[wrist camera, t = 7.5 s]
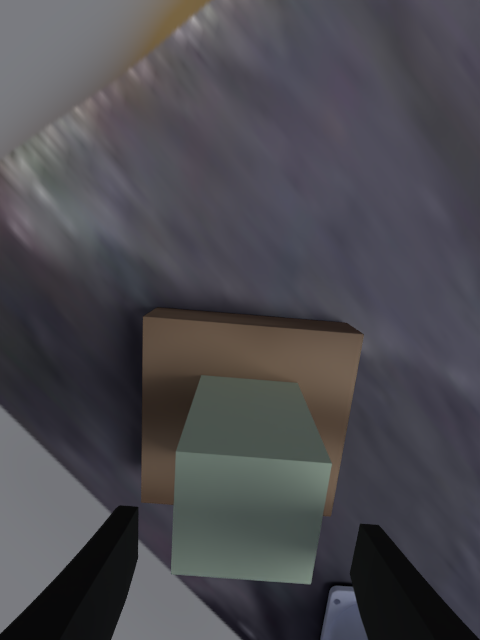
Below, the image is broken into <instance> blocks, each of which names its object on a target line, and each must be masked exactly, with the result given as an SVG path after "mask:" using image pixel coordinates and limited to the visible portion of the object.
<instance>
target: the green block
mask: <svg viewBox="0 0 480 640" xmlns="http://www.w3.org/2000/svg"><path fill="white" fill-rule="evenodd" d="M331 467H332V462H331V460H330V458H329V455H328V453H327V451H326V448H325V446H324V444H323V441H322V439H321V437H320V434H319V432H318V430H317V427H316V425H315V423H314V420H313V418H312V416H311V413H310V411H309V408H308V406H307V404H306V401H305V399H304V397H303V394H302V392H301V390H300V387H299V385H298V383H293V382H280V381H268V380H256V379H243V378H231V377H218V376H206V375H201V378H200V381H199V384H198V387H197V390H196V393H195V396H194V399H193V402H192V405H191V408H190V411H189V414H188V417H187V420H186V423H185V426H184V429H183V432H182V435H181V438H180V441H179V444H178V447H177V450H176V461H175V486H174V511H173V536H172V561H171V574H175V575H189V576H203V577H217V578H230V579H244V580H258V581H272V582H286V583H300V584H311V580H312V574H313V569H314V563H315V557H316V552H317V546H318V540H319V535H320V529H321V523H322V518H323V512H324V506H325V501H326V495H327V489H328V484H329V478H330V472H331Z"/></svg>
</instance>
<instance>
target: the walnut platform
mask: <svg viewBox="0 0 480 640" xmlns="http://www.w3.org/2000/svg"><path fill="white" fill-rule="evenodd" d="M363 337H364V334H362V333H361V332H359V331H358V330H356V329H355V328H354V327H352V326H351V325H349V324H348V323H342V322H330V321H318V320H306V319H293V318H281V317H269V316H257V315H244V314H232V313H220V312H208V311H195V310H183V309H171V308H159V307H157V308H155V309H154V310H152V311H151V312H149V313H148V314H146V315H145V316H143V370H142V483H141V502H143V503H157V504H170V505H174V486H175V461H176V450H177V447H178V444H179V441H180V438H181V435H182V432H183V429H184V426H185V423H186V420H187V417H188V414H189V411H190V408H191V405H192V402H193V399H194V396H195V393H196V390H197V387H198V384H199V381H200V378H201V375H206V376H218V377H231V378H243V379H256V380H268V381H280V382H293V383H298V385H299V387H300V390H301V392H302V394H303V397H304V399H305V401H306V404H307V406H308V408H309V411H310V413H311V416H312V418H313V420H314V423H315V425H316V427H317V430H318V432H319V434H320V437H321V439H322V441H323V444H324V446H325V448H326V451H327V453H328V455H329V458H330V460H331V462H332V467H331V472H330V478H329V484H328V489H327V495H326V501H325V506H324V512H323V516H331V512H332V507H333V501H334V496H335V490H336V485H337V479H338V474H339V468H340V463H341V458H342V452H343V447H344V441H345V436H346V430H347V425H348V419H349V414H350V408H351V403H352V397H353V392H354V386H355V381H356V375H357V370H358V364H359V359H360V353H361V348H362V342H363Z"/></svg>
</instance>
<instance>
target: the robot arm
mask: <svg viewBox="0 0 480 640" xmlns="http://www.w3.org/2000/svg"><path fill="white" fill-rule="evenodd" d="M137 560H138V507H133V506H118V507H117V508H116V509H115V510H114V511H113V513H112V514H111V515H110V516H109V518H108V519H107V520H106V521H105V522H104V524H103V525H102V526H101V527H100V528H99V530H98V531H97V532H96V533H95V534H94V536H93V537H92V538H91V539H90V540H89V541H88V542H87V544H86V545H85V546H84V547H83V548H82V549H81V551H80V552H79V553H78V554H77V555H76V556H75V557H74V559H72V561H71V562H70V563H69V564H68V565H67V566H66V567H65V568H64V570H63V571H62V572H61V573H60V574H59V575H58V576H57V577H56V578H55V579H54V580H53V581H52V582H51V583H50V584H49V585H48V587H46V588H45V590H44V591H43V592H42V593H41V594H40V595H39V596H38V597H37V598H36V599H35V600H34V601H33V602H32V603H31V604H30V605H29V606H28V607H27V608H26V609H25V610H24V611H23V612H22V613H21V614H20V615H19V616H18V617H17V618H16V619H15V620H14V621H13V622H12V623H11V624H10V625H9V626H8V627H7V628H6V629H5V630H4V631H3V632H2V633H1V634H0V640H111V638H112V636H113V633H114V630H115V628H116V625H117V622H118V620H119V617H120V614H121V611H122V609H123V606H124V603H125V601H126V598H127V595H128V591H129V588H130V584H131V581H132V577H133V574H134V570H135V567H136V563H137ZM350 576H351V580H352V585H353V587H349V586H333V587H332V588H331V589H330V591H329V597H328V602H327V607H326V612H325V617H324V622H323V627H322V633H321V638H320V640H479V638H478V637H477V636H476V635H475V634H474V633H473V632H472V631H471V630H470V629H469V628H468V627H467V626H466V625H465V624H464V623H463V622H462V620H461V619H460V618H459V617H458V616H457V615H456V614H455V613H454V612H453V611H452V609H451V608H450V607H449V606H448V605H447V604H446V603H445V602H444V601H443V599H442V598H441V597H440V596H439V595H438V594H437V593H436V592H435V590H434V589H433V588H432V587H431V586H430V585H429V584H428V582H427V581H426V580H425V579H424V578H423V577H422V575H421V574H420V573H419V572H418V571H417V570H416V568H415V567H414V566H413V565H412V564H411V563H410V561H409V560H408V559H407V558H406V557H405V555H404V554H403V553H402V552H401V551H400V550H399V548H398V547H397V546H396V545H395V544H394V542H393V541H392V540H391V539H390V538H389V536H388V535H387V534H386V533H385V532H384V530H383V529H382V528H381V527H380V526H379V525H371V524H360V527H359V532H358V537H357V541H356V546H355V551H354V556H353V561H352V566H351V570H350Z"/></svg>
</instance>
